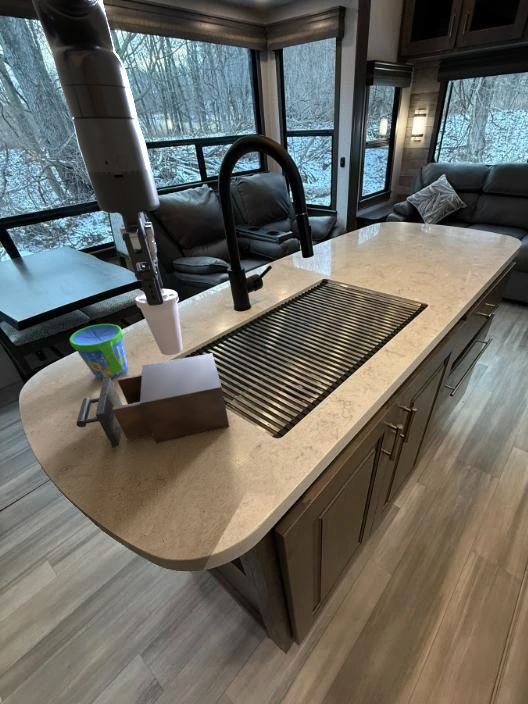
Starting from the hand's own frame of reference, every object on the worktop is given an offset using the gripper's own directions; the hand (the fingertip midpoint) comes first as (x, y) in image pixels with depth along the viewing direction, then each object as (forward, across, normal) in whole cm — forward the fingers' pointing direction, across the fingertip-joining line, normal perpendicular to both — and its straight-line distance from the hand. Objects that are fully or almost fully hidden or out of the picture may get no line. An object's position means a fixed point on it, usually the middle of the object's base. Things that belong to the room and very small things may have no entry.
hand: (156, 295), depth 52 cm
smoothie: (+10, 0, 0) cm, 10 cm away
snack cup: (+25, -23, -17) cm, 38 cm away
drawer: (+24, 0, -10) cm, 26 cm away
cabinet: (+25, 0, 0) cm, 25 cm away
